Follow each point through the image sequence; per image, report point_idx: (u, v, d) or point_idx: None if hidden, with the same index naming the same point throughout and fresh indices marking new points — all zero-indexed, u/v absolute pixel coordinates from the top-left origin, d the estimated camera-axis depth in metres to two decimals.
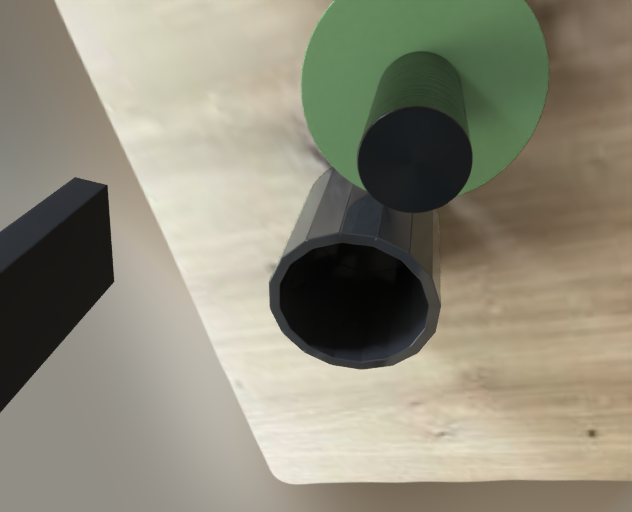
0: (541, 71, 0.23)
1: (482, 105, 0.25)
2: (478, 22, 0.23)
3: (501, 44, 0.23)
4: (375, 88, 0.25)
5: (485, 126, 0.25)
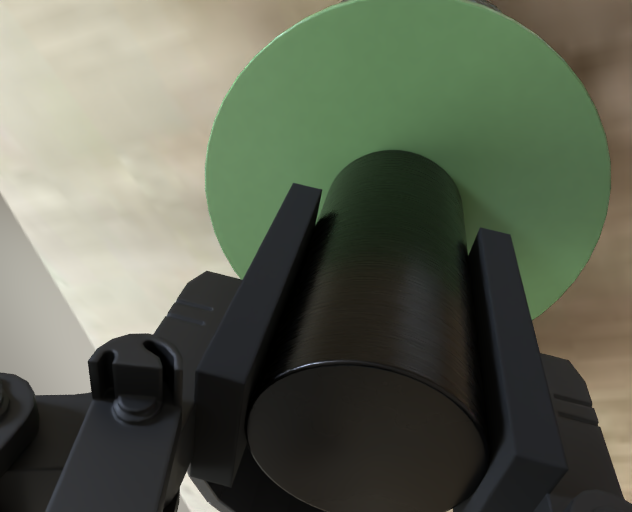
0: (597, 188, 0.14)
1: None
2: (492, 108, 0.13)
3: (531, 144, 0.13)
4: (322, 201, 0.15)
5: None
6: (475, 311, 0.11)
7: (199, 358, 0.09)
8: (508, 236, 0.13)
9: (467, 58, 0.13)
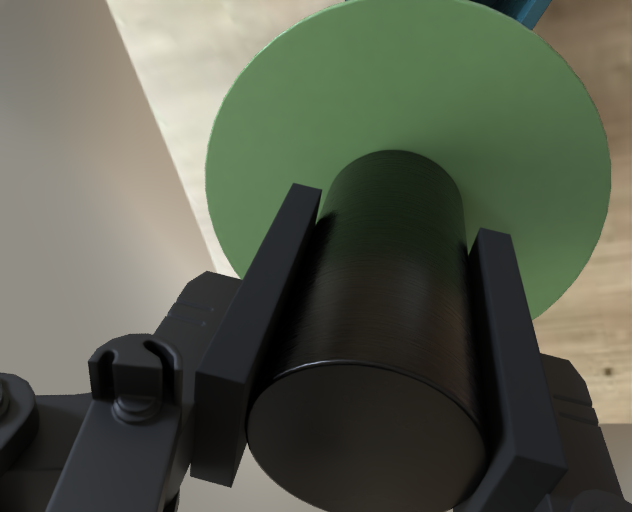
0: (597, 187, 0.14)
1: None
2: (492, 107, 0.13)
3: (531, 143, 0.13)
4: (322, 201, 0.15)
5: None
6: (475, 311, 0.11)
7: (199, 358, 0.09)
8: (508, 236, 0.13)
9: (467, 58, 0.13)
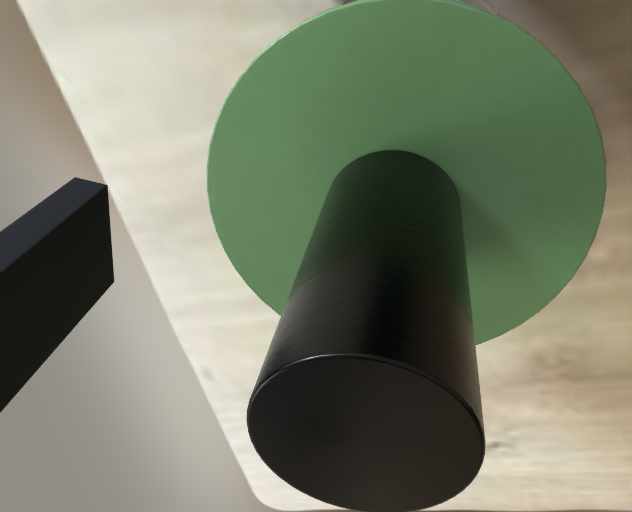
0: (593, 187, 0.14)
1: (493, 232, 0.15)
2: (489, 108, 0.13)
3: (527, 144, 0.14)
4: (322, 200, 0.16)
5: (497, 261, 0.16)
6: None
7: None
8: None
9: (465, 60, 0.13)
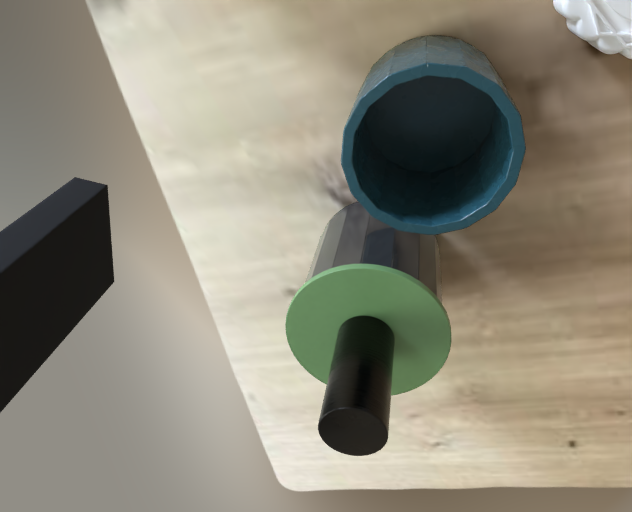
0: (445, 333, 0.35)
1: (408, 347, 0.36)
2: (403, 304, 0.34)
3: (419, 317, 0.35)
4: (336, 331, 0.37)
5: (411, 358, 0.37)
6: None
7: None
8: None
9: (393, 288, 0.34)
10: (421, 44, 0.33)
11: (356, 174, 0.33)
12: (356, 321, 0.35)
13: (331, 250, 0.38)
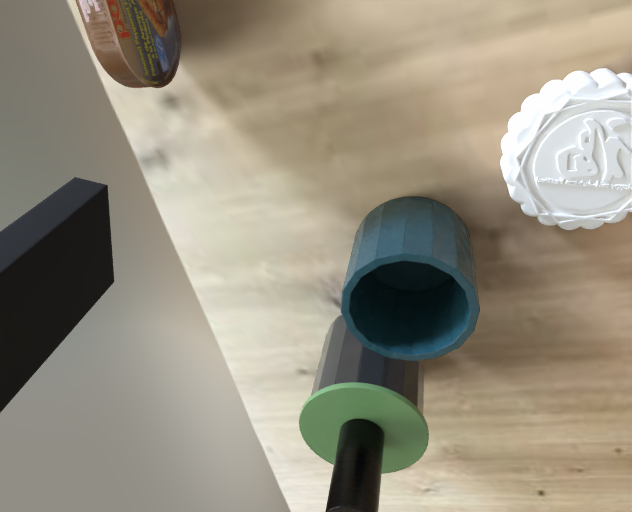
0: (424, 433, 0.45)
1: (395, 441, 0.46)
2: (390, 412, 0.44)
3: (403, 421, 0.45)
4: (339, 428, 0.47)
5: (398, 448, 0.47)
6: None
7: None
8: None
9: (382, 402, 0.44)
10: (402, 214, 0.43)
11: (352, 318, 0.42)
12: (354, 424, 0.45)
13: (334, 360, 0.48)
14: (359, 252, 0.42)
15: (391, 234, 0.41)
